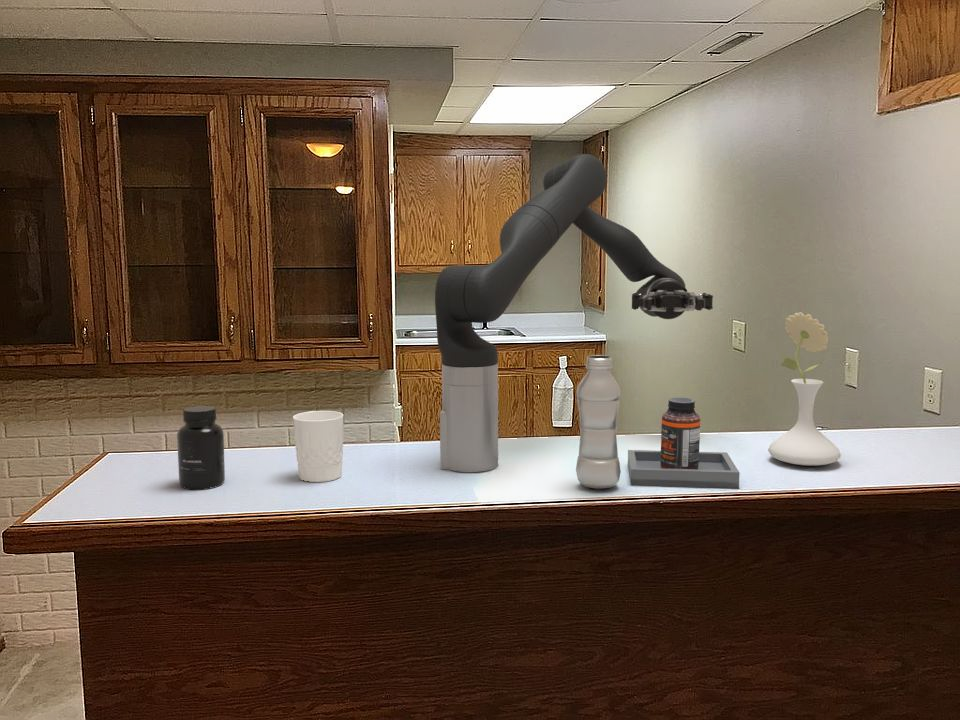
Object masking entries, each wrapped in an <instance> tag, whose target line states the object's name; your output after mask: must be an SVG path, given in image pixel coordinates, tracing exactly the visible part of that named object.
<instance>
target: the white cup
mask: <svg viewBox="0 0 960 720" xmlns="http://www.w3.org/2000/svg"><path fill="white" fill-rule="evenodd" d="M344 415H345V414H343V413H342V412H340V411H336V410H335V411H334V410H310V411H305V412H300V413H297V414H294V415H293V416H292V421H293V423H292V424H293V434H294V435H293V436H294V446H295V452H296V454H295V455H296V456H295V457H296V462H297V470H298V471H297V472H298V478H299V479H300V480H301V481H303V480H304V481H303V482H307V481H309V482H308V483H310V482H311V483H322V482H323V483H325V482H330V481H335V480H338V479H340V478H341V476H342V475H343V461H342V460H343V455H344V451H343V450H344V449H343V448H344Z"/></svg>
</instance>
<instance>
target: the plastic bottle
mask: <svg viewBox="0 0 960 720" xmlns="http://www.w3.org/2000/svg"><path fill="white" fill-rule="evenodd" d="M612 361H613V357H612V356H611V355H603V354H591V355H587V356H586V364H585V369H586V370H587V372H586V374H585V375H584V376H583V378H582V379H580V382H579V383H578V385H577V388H576V401H577V408H578V415H579V417H578V418H579V433H580V435H579V436H580V437H579V447H578V456H577V460H576V466H575V467H576V468H575V472H576V473H575V474H576V479H577V481H578V482H579V484H580V485H581V486H583V487H586V488H591V489H609V488H613V487H615V486H616V485H617V484H618V482H620V477H621V472H622V471H621V464H620V459H619V456H618V455H619V452H618V441H617V439H618V438H617V427H618V414H619V410H620V409H619V408H620V402H621V400H620V399H621V394H622V393H621V389H620V386H619V384H618V382H617V381H616V378H614V375H612V373H611V370H613V362H612Z"/></svg>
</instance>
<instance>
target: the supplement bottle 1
mask: <svg viewBox="0 0 960 720" xmlns="http://www.w3.org/2000/svg"><path fill="white" fill-rule="evenodd" d="M182 415H183V416H182V421H183V422H184V424H183V425H182V426H181V427H180V428H179V429H178V430H177V434H176V438H177V439H176V440H177V441H176V442H177V443H176V444H177V460H178V461H177V466H178V482H179V485H180V486H181V488H183V487H185V488H184V489H186V488H190V489H189V490H194V489H199V490H205V489H204V488H209V489H211V488H210V487H214V488H216V487H215V486H217V487H219V486H221V485H223V484H224V482H225V480H226V474H225V473H226V471H225V467H226V466H225V446H224V445H225V443H224V442H225V439H224V429H223V428H222V426H221V425H219V424H218V423H216V420H217V408H216V407H215V406H210V405H198V406H197V405H196V406H189V407H186V408H184V409H182ZM222 483H223V484H222ZM220 484H221V485H220ZM218 485H219V486H218Z"/></svg>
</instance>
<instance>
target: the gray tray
mask: <svg viewBox="0 0 960 720" xmlns="http://www.w3.org/2000/svg"><path fill="white" fill-rule="evenodd" d="M660 457H661V450H647V449H646V450H643V449H628V450H627V469H628V475H629V481H630V486H644V487H673V488H674V487H678V488H705V489H706V488H708V489H709V488H710V489H735V490H736V489H740V471H739V469H738V467H737V466H736V465H735V463H734V461H733V459H732V458H731V457H730V455H729V454H728V452H724V451H723V452H720V451H699V464H698V470H697V469H662V468H661V462H660Z"/></svg>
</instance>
